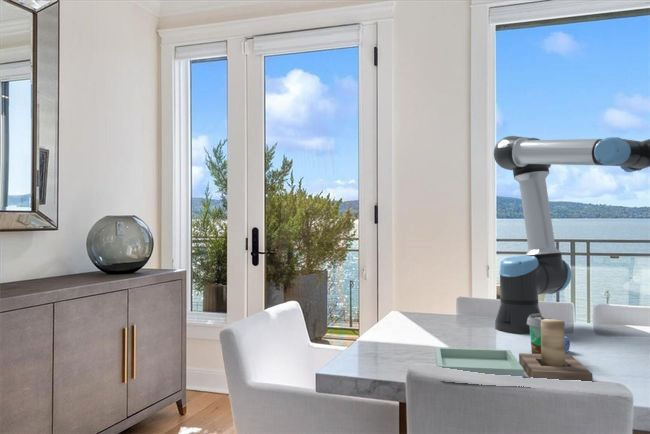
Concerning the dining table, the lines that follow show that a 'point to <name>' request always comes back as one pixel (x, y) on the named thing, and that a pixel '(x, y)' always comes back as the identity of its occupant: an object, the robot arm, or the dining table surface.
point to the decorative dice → (567, 344)
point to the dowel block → (554, 368)
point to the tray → (479, 361)
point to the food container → (535, 332)
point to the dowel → (552, 342)
